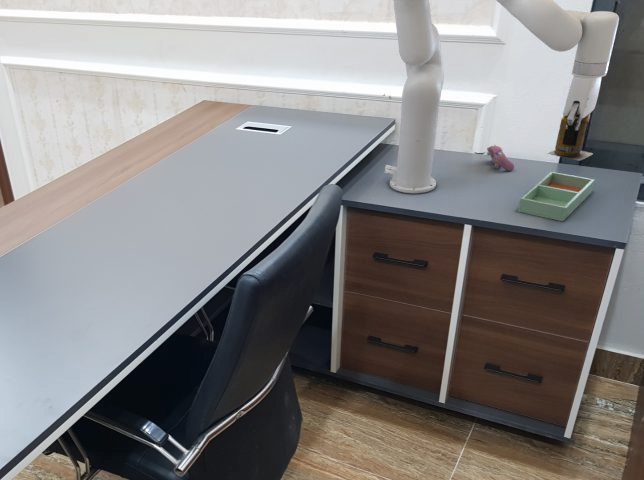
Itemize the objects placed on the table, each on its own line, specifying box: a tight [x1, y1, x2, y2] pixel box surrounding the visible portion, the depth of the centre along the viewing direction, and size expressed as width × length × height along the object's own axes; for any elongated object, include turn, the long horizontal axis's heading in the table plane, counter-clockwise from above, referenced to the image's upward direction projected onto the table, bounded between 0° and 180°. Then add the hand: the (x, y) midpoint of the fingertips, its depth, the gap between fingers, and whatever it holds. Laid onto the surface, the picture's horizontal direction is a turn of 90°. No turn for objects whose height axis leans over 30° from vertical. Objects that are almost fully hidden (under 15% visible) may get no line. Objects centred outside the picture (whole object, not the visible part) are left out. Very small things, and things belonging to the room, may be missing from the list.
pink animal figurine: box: [486, 144, 515, 172], centre depth 210 cm, size 10×5×7 cm, turn 178°
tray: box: [517, 171, 596, 222], centre depth 187 cm, size 11×22×4 cm, turn 138°
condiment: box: [547, 112, 594, 162], centre depth 182 cm, size 7×8×12 cm
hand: (573, 140), depth 183 cm, fingers closed on condiment, 6 cm apart
